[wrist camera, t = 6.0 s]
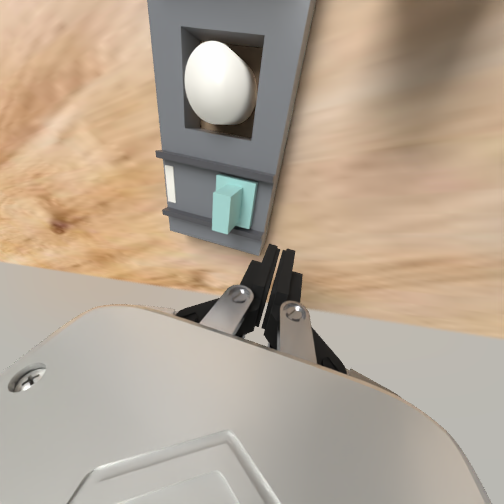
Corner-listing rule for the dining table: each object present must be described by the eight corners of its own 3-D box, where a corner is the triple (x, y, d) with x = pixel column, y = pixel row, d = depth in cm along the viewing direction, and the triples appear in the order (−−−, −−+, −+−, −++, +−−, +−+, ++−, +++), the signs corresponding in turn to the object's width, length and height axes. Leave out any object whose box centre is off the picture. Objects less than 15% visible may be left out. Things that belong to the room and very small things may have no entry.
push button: (261, 60, 17) (248, 44, 14) (253, 129, 20) (240, 129, 16) (207, 53, 18) (183, 37, 14) (206, 120, 20) (185, 118, 17)
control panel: (377, -286, 9) (409, -522, 6) (264, 243, 26) (256, 261, 23) (156, -255, 11) (85, -422, 8) (183, 221, 28) (164, 234, 25)
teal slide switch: (258, 182, 19) (245, 193, 16) (251, 226, 22) (239, 243, 19) (219, 173, 20) (200, 182, 17) (217, 217, 22) (200, 232, 19)
